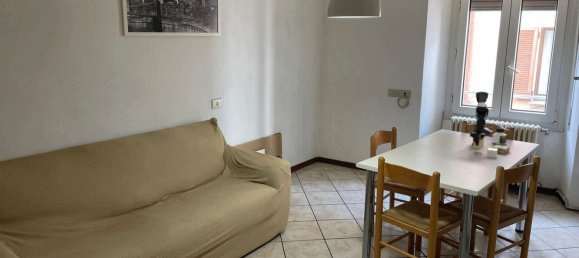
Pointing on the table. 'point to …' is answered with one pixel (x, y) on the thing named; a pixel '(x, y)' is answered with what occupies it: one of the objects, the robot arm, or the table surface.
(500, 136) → the medicine bottle
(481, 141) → the ochre block
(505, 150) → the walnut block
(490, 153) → the grey block
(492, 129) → the robot arm
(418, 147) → the table surface
